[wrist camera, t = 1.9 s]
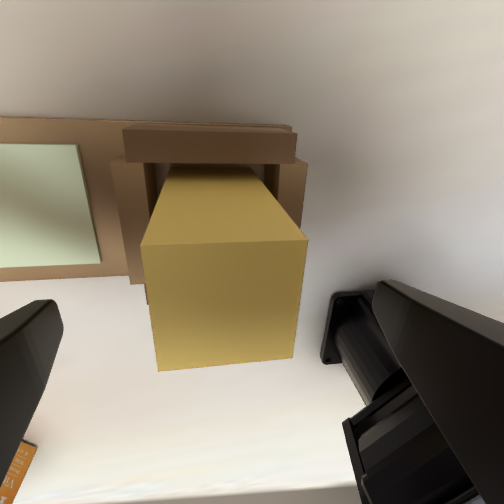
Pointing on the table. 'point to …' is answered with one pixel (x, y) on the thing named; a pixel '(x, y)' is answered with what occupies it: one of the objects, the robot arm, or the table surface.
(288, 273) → the block
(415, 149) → the table surface
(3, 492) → the small box
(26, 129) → the board
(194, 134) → the pocket
